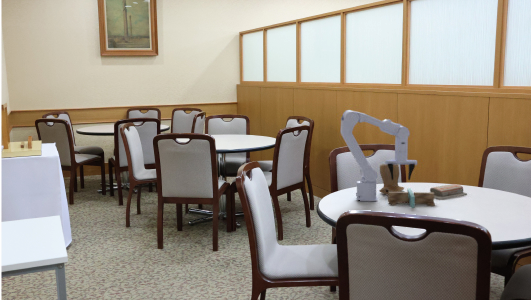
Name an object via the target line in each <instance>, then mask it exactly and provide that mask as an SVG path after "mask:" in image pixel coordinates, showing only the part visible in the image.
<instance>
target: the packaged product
mask: <svg viewBox="0 0 531 300" xmlns="http://www.w3.org/2000/svg"><path fill="white" fill-rule="evenodd" d="M428 193H434V199H436V200H447V199H450V198H457V197H461V196H466V195H468V193H466V192H464V187H463V186H462V185H461V184H455V183H452V184H445V185H440V186H433V187H431V188H430V189H429V192H428Z"/></svg>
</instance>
